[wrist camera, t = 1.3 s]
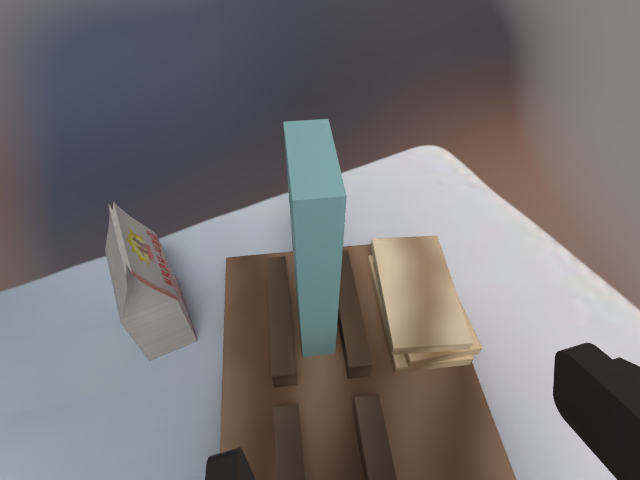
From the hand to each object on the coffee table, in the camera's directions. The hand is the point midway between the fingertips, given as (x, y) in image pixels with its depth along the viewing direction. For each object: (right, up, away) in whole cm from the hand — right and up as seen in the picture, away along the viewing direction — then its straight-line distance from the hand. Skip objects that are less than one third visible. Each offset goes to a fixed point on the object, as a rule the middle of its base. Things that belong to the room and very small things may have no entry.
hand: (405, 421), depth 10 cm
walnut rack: (0, -7, +19) cm, 20 cm away
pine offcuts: (+5, -1, +23) cm, 23 cm away
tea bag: (-15, -2, +24) cm, 28 cm away
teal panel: (-3, -2, +22) cm, 22 cm away
